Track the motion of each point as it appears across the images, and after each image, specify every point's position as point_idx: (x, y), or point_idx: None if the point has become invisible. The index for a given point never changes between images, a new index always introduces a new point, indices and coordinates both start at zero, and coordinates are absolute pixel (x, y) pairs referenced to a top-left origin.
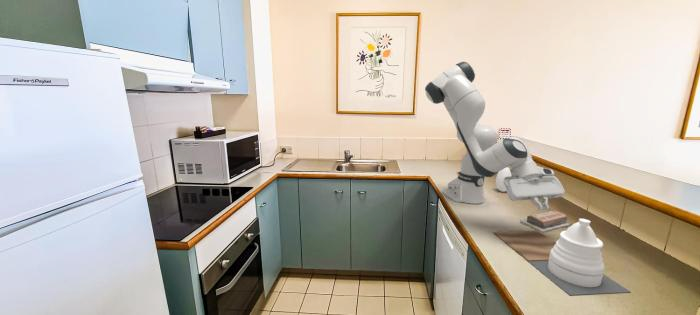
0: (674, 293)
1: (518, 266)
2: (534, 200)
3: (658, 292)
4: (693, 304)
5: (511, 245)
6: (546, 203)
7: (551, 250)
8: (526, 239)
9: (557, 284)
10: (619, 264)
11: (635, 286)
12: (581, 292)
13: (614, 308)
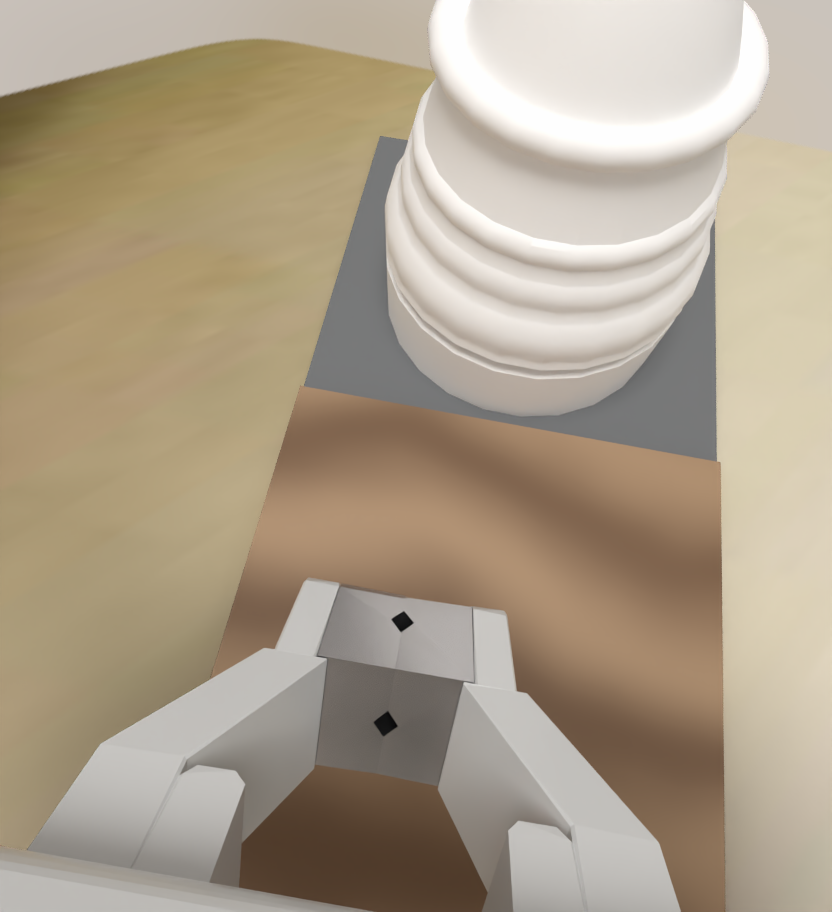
0: (182, 92)
1: (826, 445)
2: (631, 862)
3: (246, 111)
4: (208, 45)
5: (713, 701)
6: (291, 654)
7: (673, 303)
8: None
9: (711, 253)
10: (106, 291)
11: (296, 157)
12: None
13: None
